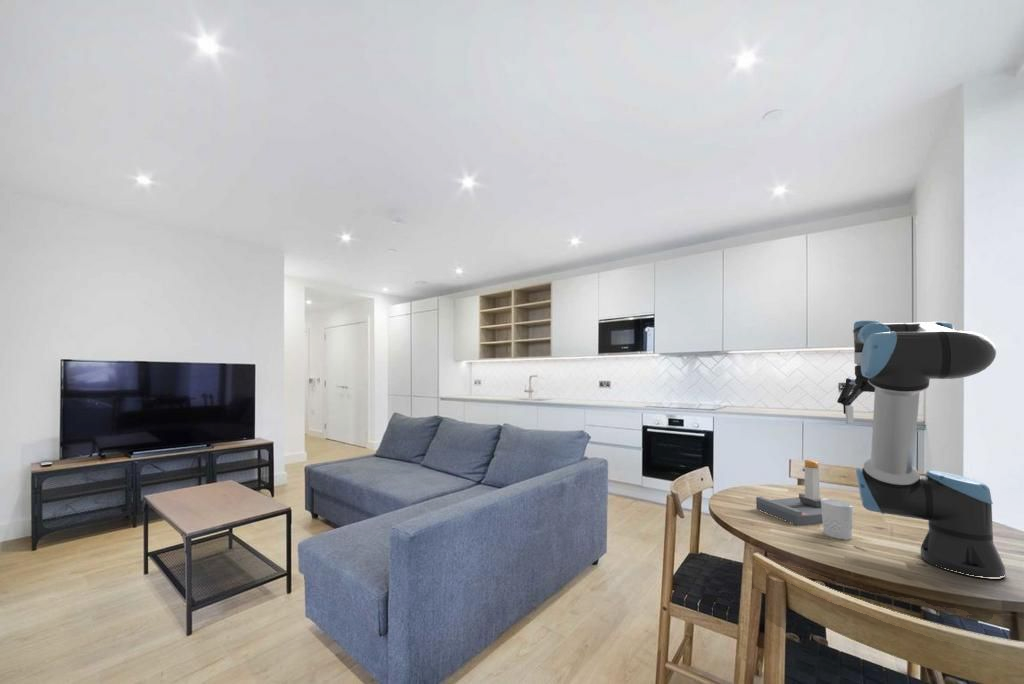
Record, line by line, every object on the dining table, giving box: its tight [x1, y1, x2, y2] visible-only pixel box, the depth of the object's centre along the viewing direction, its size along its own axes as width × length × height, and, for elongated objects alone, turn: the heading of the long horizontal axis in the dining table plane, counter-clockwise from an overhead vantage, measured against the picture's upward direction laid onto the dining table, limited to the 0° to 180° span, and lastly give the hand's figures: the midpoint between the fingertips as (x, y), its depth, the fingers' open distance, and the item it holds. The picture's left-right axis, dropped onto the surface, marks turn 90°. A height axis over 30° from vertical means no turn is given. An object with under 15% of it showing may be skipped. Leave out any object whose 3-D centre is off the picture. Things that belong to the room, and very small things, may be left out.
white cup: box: [820, 498, 854, 541], centre depth 129 cm, size 8×8×10 cm
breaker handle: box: [800, 459, 822, 507], centre depth 148 cm, size 6×4×15 cm, turn 16°
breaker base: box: [755, 492, 823, 527], centre depth 146 cm, size 16×22×4 cm
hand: (870, 426), depth 144 cm, fingers open, 13 cm apart
